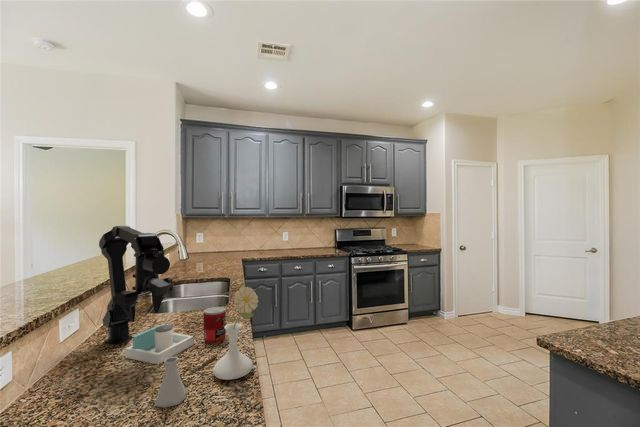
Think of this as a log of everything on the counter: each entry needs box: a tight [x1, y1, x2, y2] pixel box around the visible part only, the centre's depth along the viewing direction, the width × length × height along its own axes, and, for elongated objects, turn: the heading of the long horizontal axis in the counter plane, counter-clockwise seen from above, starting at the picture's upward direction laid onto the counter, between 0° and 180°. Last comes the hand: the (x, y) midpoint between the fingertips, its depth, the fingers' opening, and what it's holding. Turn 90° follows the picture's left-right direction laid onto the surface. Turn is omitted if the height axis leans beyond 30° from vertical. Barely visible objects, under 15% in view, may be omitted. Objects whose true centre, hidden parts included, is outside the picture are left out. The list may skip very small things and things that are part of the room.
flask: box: [154, 356, 187, 408], centre depth 74 cm, size 7×7×10 cm
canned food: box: [203, 306, 227, 344], centre depth 110 cm, size 8×8×11 cm
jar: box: [155, 324, 174, 353], centre depth 100 cm, size 6×6×8 cm
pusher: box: [132, 323, 168, 350], centre depth 102 cm, size 1×12×6 cm, turn 161°
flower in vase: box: [212, 286, 259, 381], centre depth 86 cm, size 13×11×25 cm
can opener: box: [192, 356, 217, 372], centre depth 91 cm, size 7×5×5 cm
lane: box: [125, 332, 194, 365], centre depth 101 cm, size 17×15×3 cm
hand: (145, 317), depth 99 cm, fingers open, 9 cm apart
